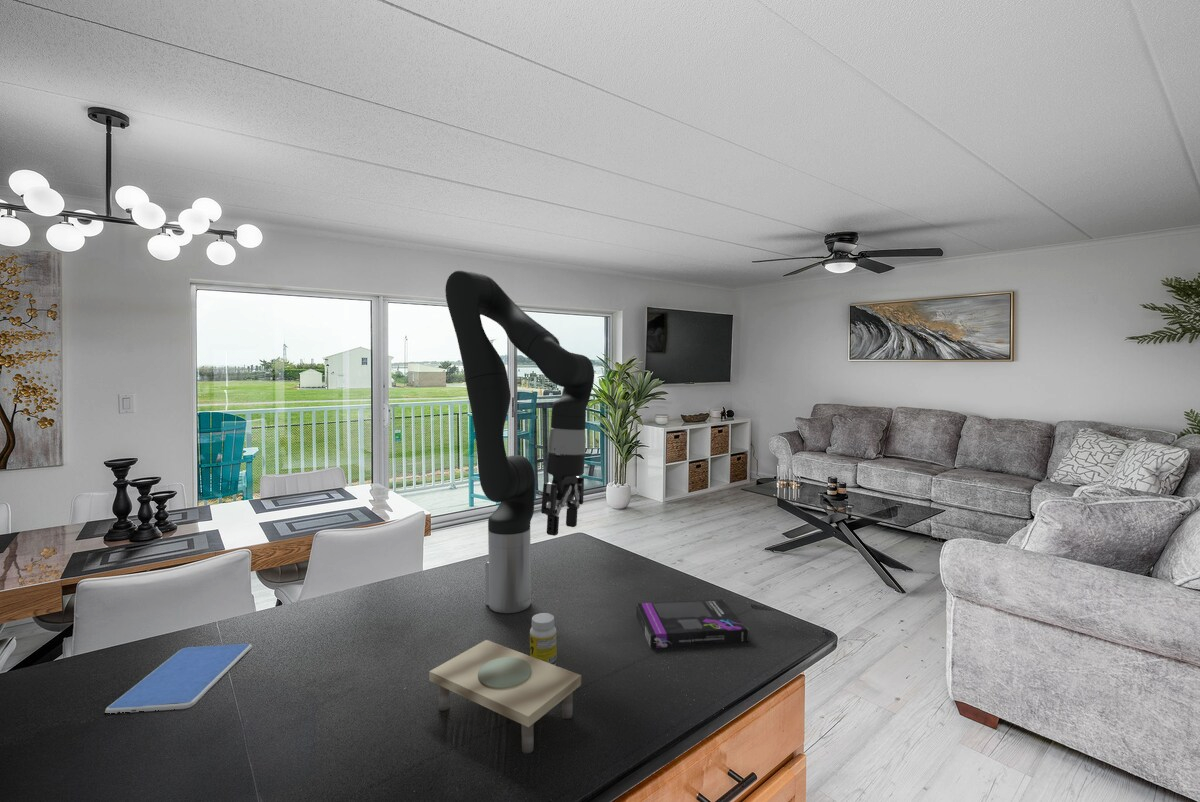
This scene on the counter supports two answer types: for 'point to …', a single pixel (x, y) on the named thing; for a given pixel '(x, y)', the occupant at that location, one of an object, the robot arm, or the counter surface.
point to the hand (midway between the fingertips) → (561, 530)
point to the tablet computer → (180, 679)
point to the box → (690, 623)
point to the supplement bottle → (543, 638)
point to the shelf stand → (507, 685)
